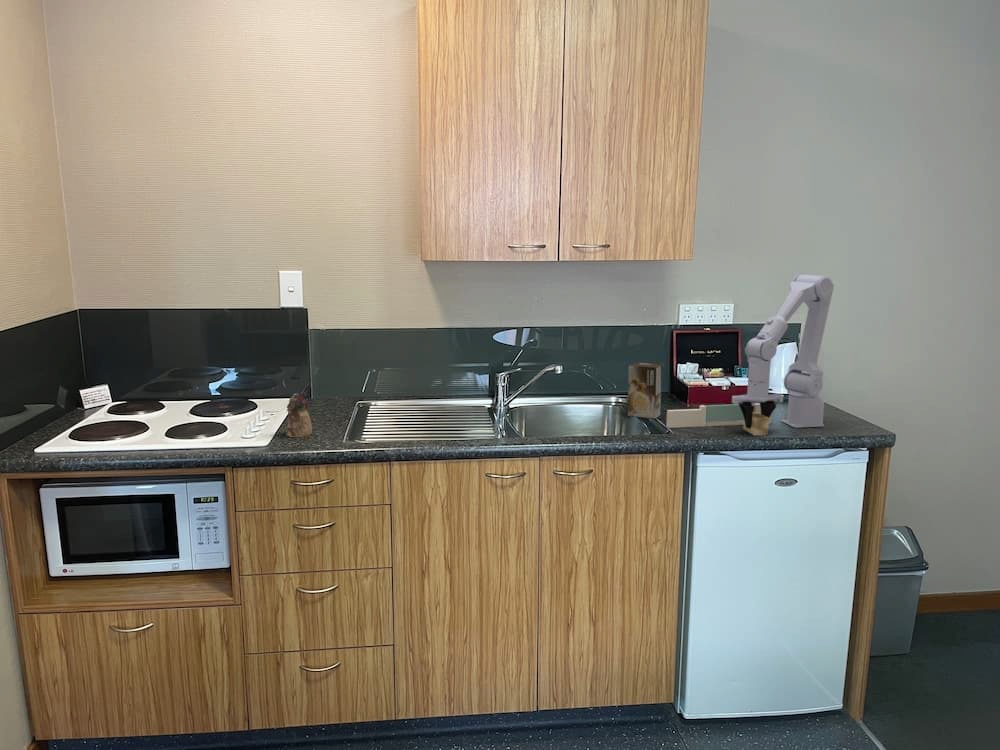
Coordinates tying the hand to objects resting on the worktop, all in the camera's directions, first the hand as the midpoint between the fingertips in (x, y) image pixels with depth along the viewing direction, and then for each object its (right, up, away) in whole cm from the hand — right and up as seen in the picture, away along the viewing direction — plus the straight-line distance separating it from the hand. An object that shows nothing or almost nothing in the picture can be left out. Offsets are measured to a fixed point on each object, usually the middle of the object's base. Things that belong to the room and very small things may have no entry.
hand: (755, 427), depth 222 cm
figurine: (-130, -2, -1) cm, 130 cm away
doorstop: (0, -1, 0) cm, 1 cm away
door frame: (-8, 0, +8) cm, 11 cm away
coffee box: (-28, +2, +20) cm, 35 cm away
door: (-5, +2, +8) cm, 10 cm away
